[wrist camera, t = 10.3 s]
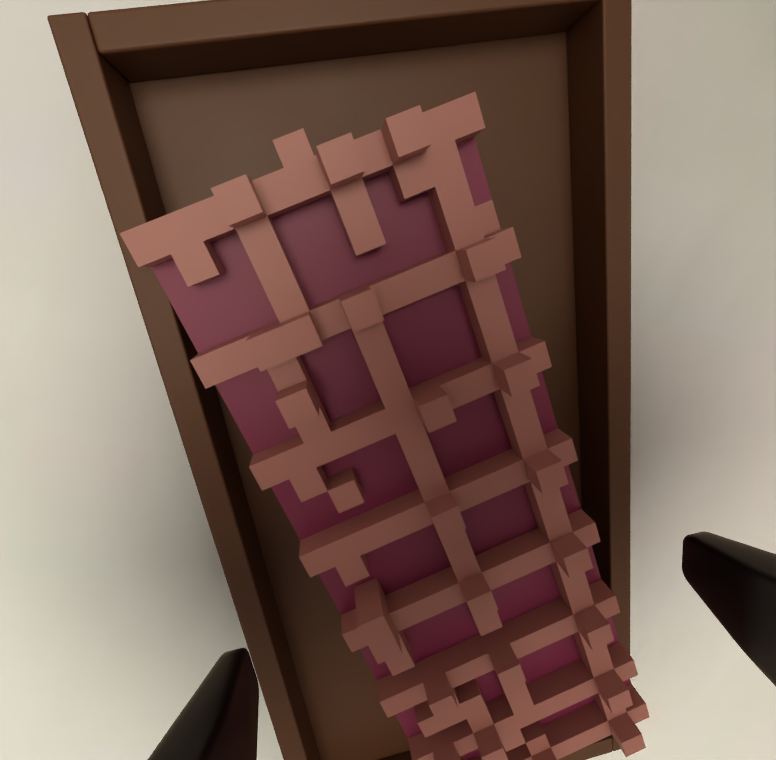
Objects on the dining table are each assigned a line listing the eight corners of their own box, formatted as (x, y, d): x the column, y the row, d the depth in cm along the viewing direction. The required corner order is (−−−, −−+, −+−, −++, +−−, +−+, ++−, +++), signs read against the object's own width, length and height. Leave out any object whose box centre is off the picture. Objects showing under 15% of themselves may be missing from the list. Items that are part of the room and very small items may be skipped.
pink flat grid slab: (445, 80, 9) (476, 35, 8) (621, 679, 15) (665, 738, 13) (129, 206, 9) (80, 192, 7) (431, 767, 15) (447, 840, 13)
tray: (579, 8, 11) (632, -45, 9) (597, 695, 18) (630, 746, 16) (97, 61, 10) (45, 14, 8) (311, 777, 17) (310, 843, 15)
